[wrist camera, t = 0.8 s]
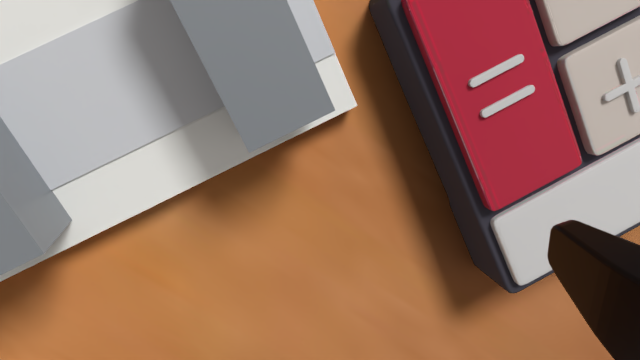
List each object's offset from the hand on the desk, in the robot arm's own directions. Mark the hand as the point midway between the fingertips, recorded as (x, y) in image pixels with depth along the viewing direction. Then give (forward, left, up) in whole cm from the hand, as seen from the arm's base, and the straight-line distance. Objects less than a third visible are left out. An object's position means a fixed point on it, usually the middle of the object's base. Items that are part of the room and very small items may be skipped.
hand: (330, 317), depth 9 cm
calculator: (+5, -12, -15) cm, 20 cm away
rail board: (+1, +7, -14) cm, 16 cm away
